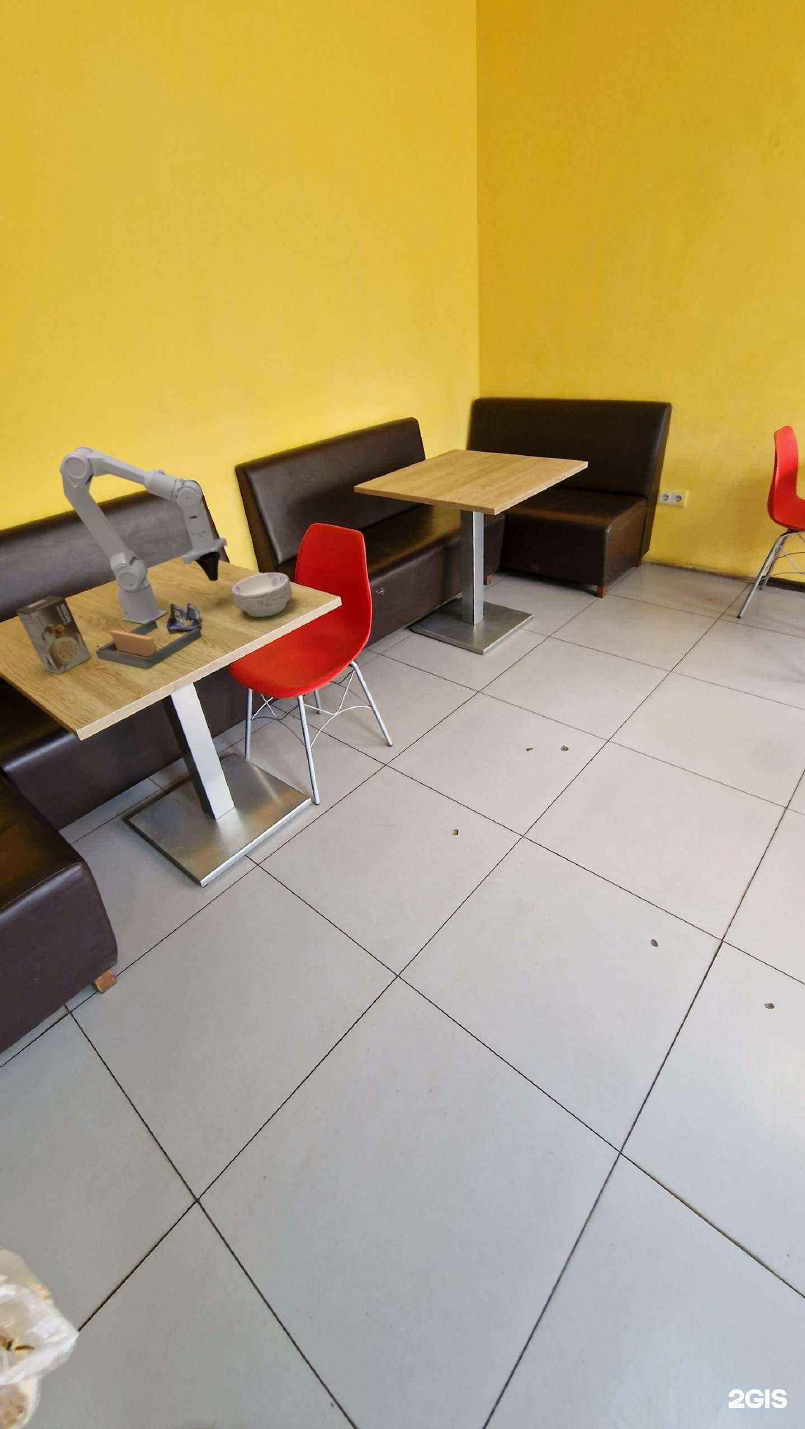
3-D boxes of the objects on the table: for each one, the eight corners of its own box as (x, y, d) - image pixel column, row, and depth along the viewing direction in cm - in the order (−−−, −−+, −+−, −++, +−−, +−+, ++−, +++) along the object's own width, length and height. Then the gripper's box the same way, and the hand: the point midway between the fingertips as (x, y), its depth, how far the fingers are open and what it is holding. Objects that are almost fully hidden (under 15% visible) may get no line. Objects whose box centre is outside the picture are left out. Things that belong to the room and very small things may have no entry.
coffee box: (77, 653, 159) (50, 594, 150) (92, 657, 156) (66, 597, 147) (44, 670, 153) (14, 609, 144) (59, 675, 150) (30, 613, 141)
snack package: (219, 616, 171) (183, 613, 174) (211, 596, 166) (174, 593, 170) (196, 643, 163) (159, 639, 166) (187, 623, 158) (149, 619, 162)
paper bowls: (227, 615, 170) (219, 587, 165) (270, 594, 179) (264, 568, 174) (262, 627, 161) (255, 598, 156) (306, 605, 170) (300, 577, 165)
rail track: (98, 657, 156) (95, 650, 155) (153, 626, 168) (151, 619, 167) (147, 669, 147) (144, 662, 146) (202, 635, 160) (199, 628, 159)
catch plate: (117, 649, 158) (110, 631, 155) (121, 647, 159) (114, 629, 156) (155, 658, 151) (148, 639, 149) (159, 656, 152) (152, 637, 149)
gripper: (190, 541, 157) (205, 591, 165) (229, 522, 167) (242, 571, 175) (170, 539, 160) (186, 589, 168) (210, 521, 170) (223, 569, 178)
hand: (213, 580), depth 171 cm, fingers closed
